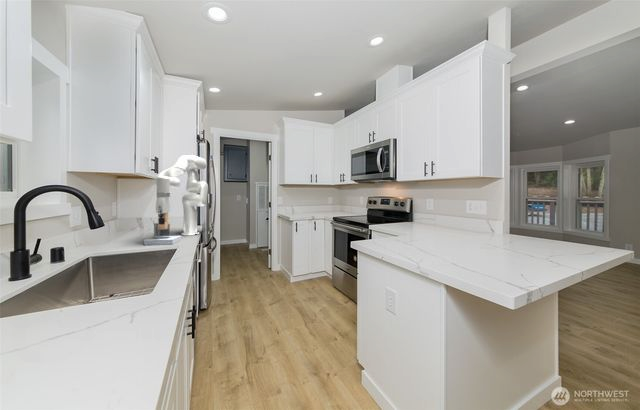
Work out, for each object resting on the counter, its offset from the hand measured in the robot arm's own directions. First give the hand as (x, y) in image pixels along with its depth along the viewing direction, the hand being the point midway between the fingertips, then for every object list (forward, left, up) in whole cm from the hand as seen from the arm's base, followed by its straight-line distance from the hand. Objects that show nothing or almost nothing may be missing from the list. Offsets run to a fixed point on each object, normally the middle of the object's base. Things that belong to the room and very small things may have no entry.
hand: (163, 223), depth 163 cm
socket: (0, 0, -12) cm, 12 cm away
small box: (-18, -8, -13) cm, 24 cm away
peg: (0, 0, -3) cm, 3 cm away
